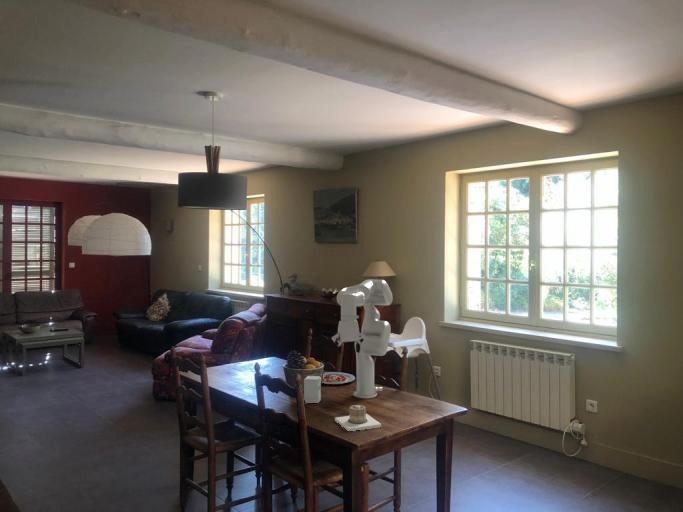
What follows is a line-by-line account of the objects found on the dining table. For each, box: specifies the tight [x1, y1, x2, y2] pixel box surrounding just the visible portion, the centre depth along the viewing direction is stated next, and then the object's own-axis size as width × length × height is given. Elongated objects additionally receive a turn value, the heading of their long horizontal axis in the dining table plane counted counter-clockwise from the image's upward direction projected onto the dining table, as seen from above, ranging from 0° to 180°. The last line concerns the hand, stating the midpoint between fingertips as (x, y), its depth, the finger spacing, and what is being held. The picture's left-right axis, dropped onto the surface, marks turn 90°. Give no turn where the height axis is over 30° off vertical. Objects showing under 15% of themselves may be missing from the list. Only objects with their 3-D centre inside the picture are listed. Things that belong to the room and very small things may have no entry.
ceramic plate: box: [321, 371, 356, 386], centre depth 324 cm, size 26×26×3 cm
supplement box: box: [303, 375, 322, 404], centre depth 282 cm, size 7×7×13 cm
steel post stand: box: [334, 406, 382, 432], centre depth 248 cm, size 16×16×8 cm
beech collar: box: [348, 404, 367, 423], centre depth 248 cm, size 7×7×6 cm
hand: (348, 353), depth 267 cm, fingers open, 9 cm apart
